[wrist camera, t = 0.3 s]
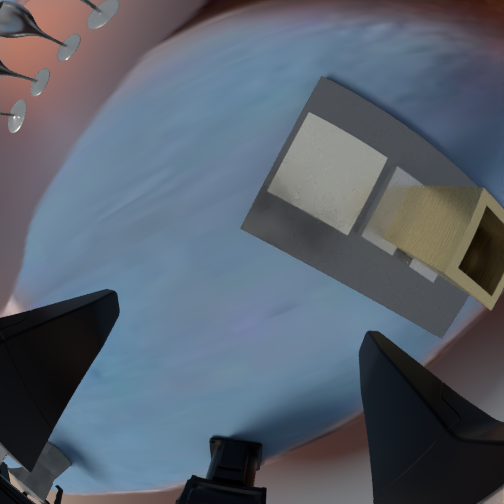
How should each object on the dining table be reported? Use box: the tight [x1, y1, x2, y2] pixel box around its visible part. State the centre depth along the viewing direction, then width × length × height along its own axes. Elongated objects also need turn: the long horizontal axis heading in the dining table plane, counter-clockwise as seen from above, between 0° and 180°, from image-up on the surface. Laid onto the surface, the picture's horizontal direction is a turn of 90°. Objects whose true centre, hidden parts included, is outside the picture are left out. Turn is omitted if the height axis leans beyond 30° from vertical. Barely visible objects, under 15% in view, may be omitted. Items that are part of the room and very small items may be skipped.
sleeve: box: [383, 186, 504, 310], centre depth 14 cm, size 5×5×9 cm
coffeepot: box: [8, 442, 71, 504], centre depth 30 cm, size 15×9×18 cm, turn 27°
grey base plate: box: [241, 76, 478, 338], centre depth 18 cm, size 14×23×7 cm, turn 63°
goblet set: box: [0, 0, 119, 133], centre depth 14 cm, size 28×6×13 cm, turn 127°
